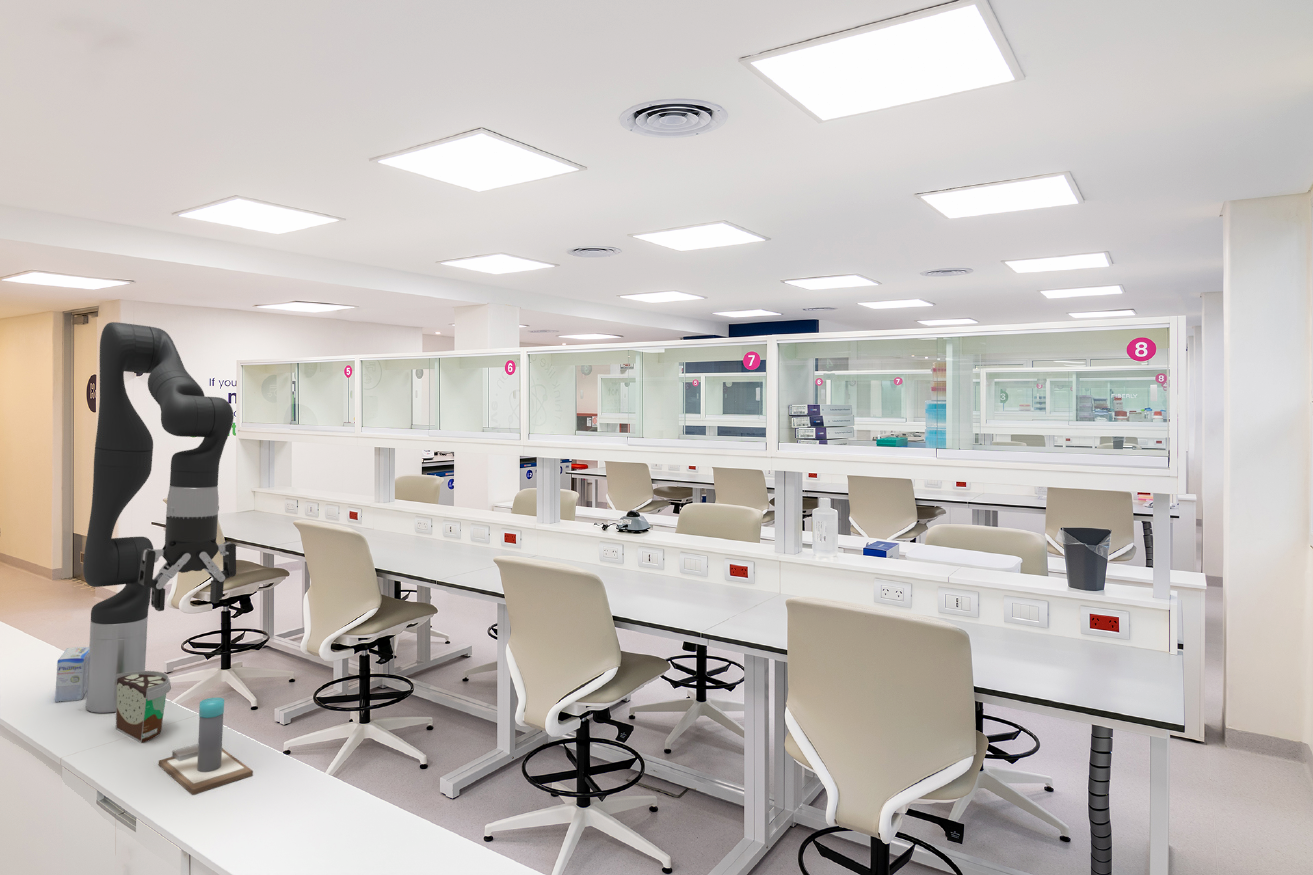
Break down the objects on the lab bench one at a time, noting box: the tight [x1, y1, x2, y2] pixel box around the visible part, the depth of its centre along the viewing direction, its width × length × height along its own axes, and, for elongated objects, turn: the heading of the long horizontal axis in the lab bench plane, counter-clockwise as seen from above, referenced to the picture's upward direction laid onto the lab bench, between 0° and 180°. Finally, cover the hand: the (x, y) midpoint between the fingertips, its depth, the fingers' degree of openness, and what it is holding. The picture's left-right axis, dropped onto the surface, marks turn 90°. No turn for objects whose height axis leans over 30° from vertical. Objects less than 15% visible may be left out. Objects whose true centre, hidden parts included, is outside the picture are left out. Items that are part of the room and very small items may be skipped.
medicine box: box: [54, 646, 89, 703], centre depth 150 cm, size 8×4×9 cm, turn 28°
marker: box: [197, 697, 225, 772], centre depth 122 cm, size 4×4×11 cm
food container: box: [114, 670, 172, 744], centre depth 136 cm, size 12×6×10 cm, turn 59°
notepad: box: [158, 743, 254, 796], centre depth 123 cm, size 14×9×2 cm, turn 52°
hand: (187, 606), depth 127 cm, fingers open, 8 cm apart
